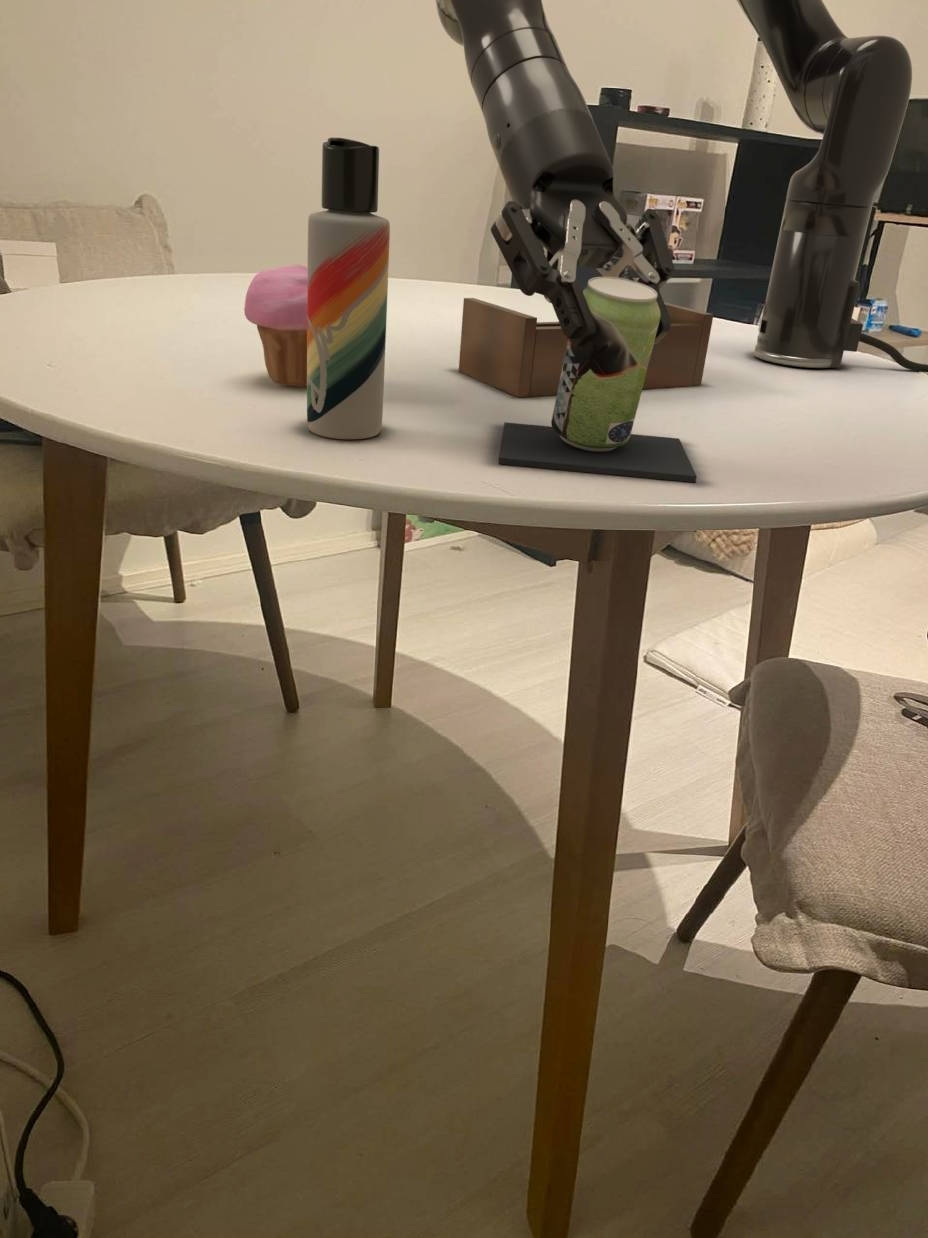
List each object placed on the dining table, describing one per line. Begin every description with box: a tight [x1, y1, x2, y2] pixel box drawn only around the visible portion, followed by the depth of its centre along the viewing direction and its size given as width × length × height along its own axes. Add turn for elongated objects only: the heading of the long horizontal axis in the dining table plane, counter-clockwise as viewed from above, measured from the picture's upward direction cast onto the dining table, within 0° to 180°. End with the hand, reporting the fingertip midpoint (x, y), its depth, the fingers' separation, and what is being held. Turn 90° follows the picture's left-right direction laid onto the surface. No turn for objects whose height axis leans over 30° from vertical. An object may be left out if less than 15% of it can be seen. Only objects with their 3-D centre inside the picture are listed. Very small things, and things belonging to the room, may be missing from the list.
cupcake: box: [243, 264, 308, 387], centre depth 85 cm, size 9×9×10 cm
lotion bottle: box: [306, 137, 391, 440], centre depth 70 cm, size 6×6×20 cm
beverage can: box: [550, 276, 661, 452], centre depth 71 cm, size 6×7×12 cm
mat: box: [498, 421, 698, 483], centre depth 74 cm, size 14×10×1 cm
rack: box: [458, 297, 714, 398], centre depth 97 cm, size 11×22×7 cm, turn 121°
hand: (623, 338), depth 69 cm, fingers closed on beverage can, 6 cm apart
